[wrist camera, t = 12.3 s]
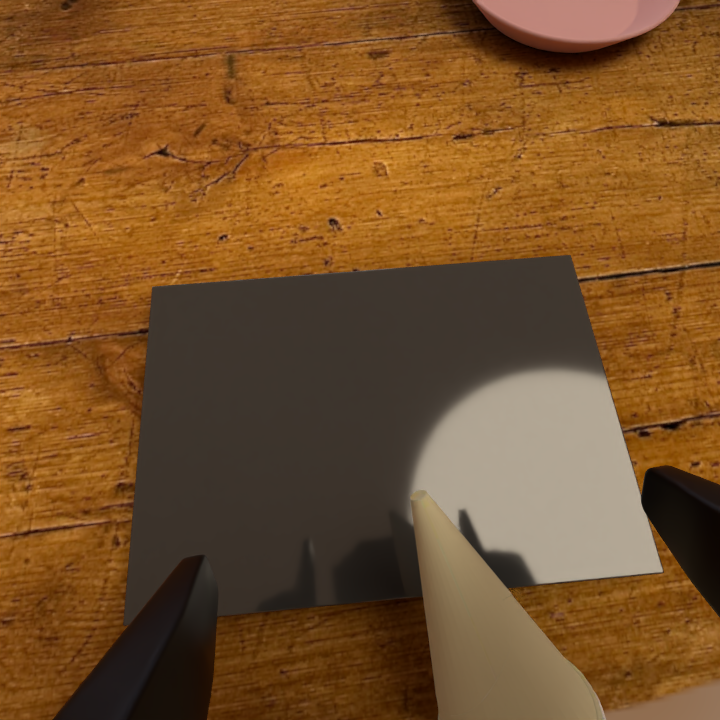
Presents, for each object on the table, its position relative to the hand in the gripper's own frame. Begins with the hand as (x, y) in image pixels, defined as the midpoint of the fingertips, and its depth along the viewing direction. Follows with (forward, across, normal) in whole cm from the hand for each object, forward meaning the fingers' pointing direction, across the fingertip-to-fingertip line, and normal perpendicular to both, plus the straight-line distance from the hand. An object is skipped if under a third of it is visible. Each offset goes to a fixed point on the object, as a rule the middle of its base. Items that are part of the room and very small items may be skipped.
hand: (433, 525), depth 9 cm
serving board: (+11, 0, +4) cm, 11 cm away
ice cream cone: (+3, 0, +2) cm, 3 cm away
